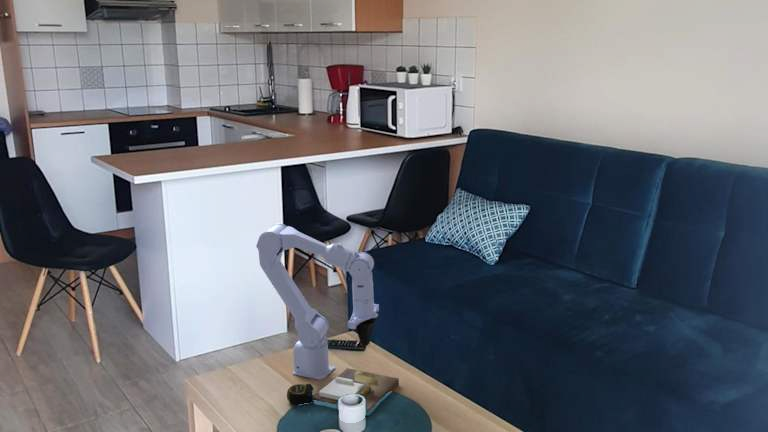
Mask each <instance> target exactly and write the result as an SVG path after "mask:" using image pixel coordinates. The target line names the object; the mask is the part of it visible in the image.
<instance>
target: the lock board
mask: <svg viewBox="0 0 768 432" xmlns="http://www.w3.org/2000/svg"><path fill="white" fill-rule="evenodd" d="M357 371H358V370H357V369H352V368H348V367H347V368H346V369H344V370H343V371H342V372H341V373H340V374H339V375H337V376H336V377H342V378H347V379H351V380H353V382H354V383H359V384H364V385H365V388H366V384H365V383H363V382H359V381H355V378H354V373H356V372H357ZM362 371H363V370H362ZM363 372H365V371H363ZM368 373H370V372H368ZM371 373H372V374H376V375H381V378H382V383H381V384H380V385H379V386H375V385H371V392H369V393H367V394H366V395H365V396H364V397H365V399H366V405H367V412H368V411H369V410H370V409H371V408H372V407H374V406H375V404H376V403H377V402H378V401H379V400H380V399H382V397H384V396H385V394H387V393H388V392H390V391H392V393H393V392H394V390H396V389H397V388H398V387H399V386H400V379H399V378H398V377H395V376H394V377H393V376H387V375H382V374H378V373H374V372H371ZM313 400H317V401H321V402H328V403H331V404H337V402H338V400H335V399H330V398H326V397H321V396H319V392H318V393H316V394H315V395H314V396H313Z"/></svg>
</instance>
